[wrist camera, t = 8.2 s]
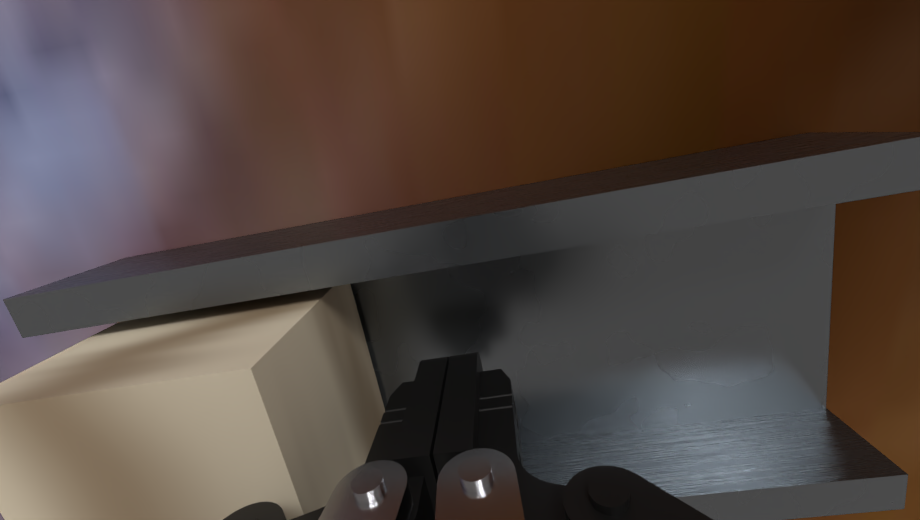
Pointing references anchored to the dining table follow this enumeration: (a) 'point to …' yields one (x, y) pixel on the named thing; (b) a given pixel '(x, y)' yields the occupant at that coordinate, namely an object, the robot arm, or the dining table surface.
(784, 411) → the chute
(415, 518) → the robot arm
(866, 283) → the dining table surface
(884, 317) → the dining table surface
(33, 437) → the birch block
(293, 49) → the dining table surface
